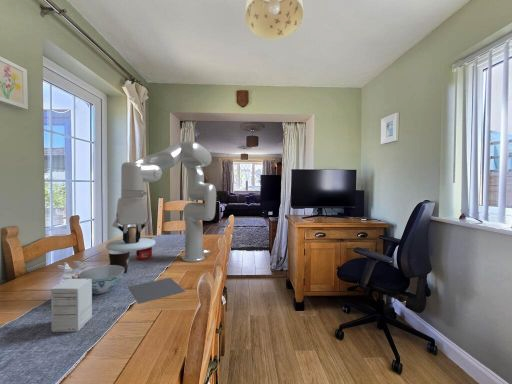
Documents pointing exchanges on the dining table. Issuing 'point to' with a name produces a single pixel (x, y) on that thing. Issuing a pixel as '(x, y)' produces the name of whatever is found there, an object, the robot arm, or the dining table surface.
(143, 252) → the canned food
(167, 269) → the dining table surface
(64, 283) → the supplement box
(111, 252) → the coffee mug
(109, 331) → the dining table surface
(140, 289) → the mat
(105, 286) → the chinaware
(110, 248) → the lid
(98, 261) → the dining table surface
